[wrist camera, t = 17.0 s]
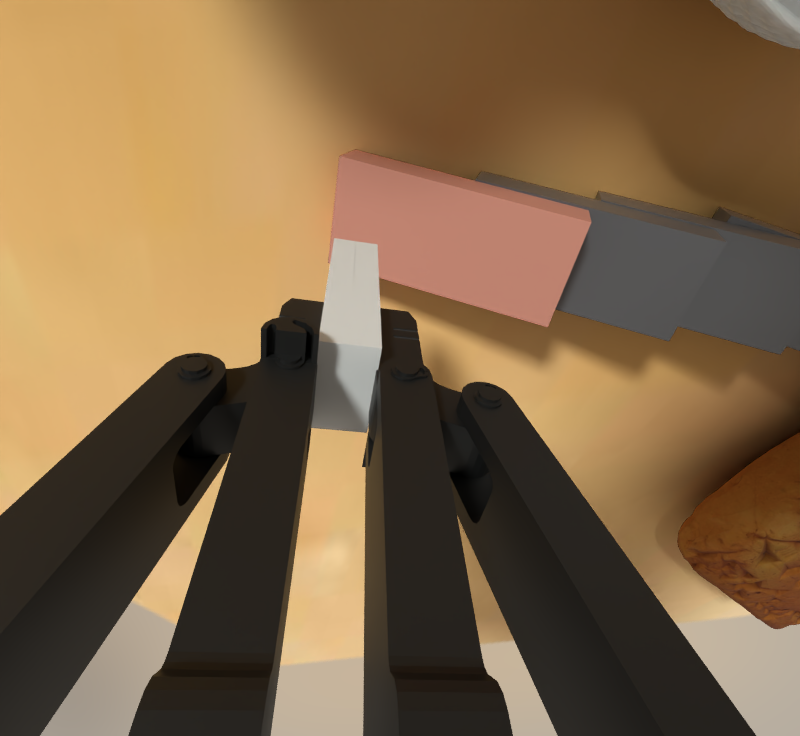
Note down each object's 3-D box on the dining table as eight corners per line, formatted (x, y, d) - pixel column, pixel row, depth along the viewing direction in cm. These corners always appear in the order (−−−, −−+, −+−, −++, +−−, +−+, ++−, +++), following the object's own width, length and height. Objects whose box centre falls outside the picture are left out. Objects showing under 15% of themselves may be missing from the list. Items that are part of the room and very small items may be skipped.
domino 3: (601, 199, 23) (850, 261, 21) (598, 190, 24) (829, 247, 23) (562, 294, 25) (780, 354, 24) (562, 280, 27) (766, 336, 26)
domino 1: (339, 156, 21) (591, 222, 19) (355, 149, 22) (588, 210, 21) (328, 262, 24) (547, 327, 22) (343, 250, 25) (548, 309, 24)
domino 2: (475, 179, 22) (727, 242, 20) (481, 171, 23) (714, 229, 22) (450, 279, 25) (669, 341, 23) (456, 266, 26) (661, 323, 25)
